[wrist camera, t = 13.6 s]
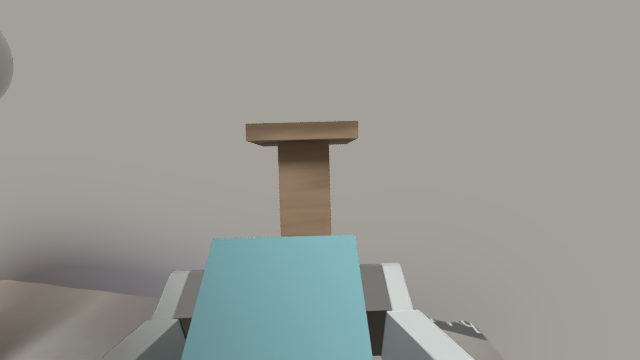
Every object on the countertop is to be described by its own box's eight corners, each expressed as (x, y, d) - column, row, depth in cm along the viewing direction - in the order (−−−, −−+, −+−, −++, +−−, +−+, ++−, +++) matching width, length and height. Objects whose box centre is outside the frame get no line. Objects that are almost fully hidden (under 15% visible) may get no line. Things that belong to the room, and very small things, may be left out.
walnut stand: (364, 403, 36) (357, 120, 34) (256, 407, 35) (245, 123, 34) (351, 342, 48) (345, 131, 46) (270, 345, 47) (262, 133, 46)
